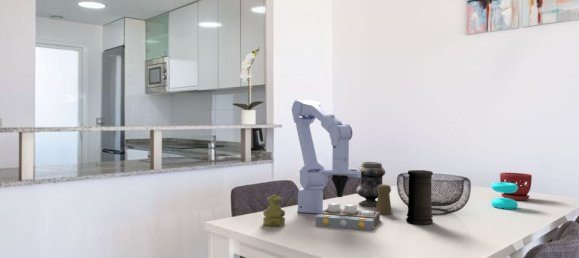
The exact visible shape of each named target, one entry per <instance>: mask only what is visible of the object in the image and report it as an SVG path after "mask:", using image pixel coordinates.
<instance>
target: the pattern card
mask: <svg viewBox="0 0 579 258" xmlns="http://www.w3.org/2000/svg"><path fill="white" fill-rule="evenodd" d="M315 226H318V227H320V226H321V227H329V228H330V227H331V228H342V229H343V228H344V229H351V230H352V229H353V230H362V231H363V230H364V231H365V230H366V231H373V230H374V229H375V226H374V219H372V218H360V217H348V216H336V215H323V214H317V215H315Z"/></svg>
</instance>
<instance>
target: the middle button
mask: <svg viewBox="0 0 579 258" xmlns="http://www.w3.org/2000/svg"><path fill="white" fill-rule="evenodd" d="M343 209H344V213H345V214H357V210H358V205H357V204H352V203H347V204H344V207H343Z"/></svg>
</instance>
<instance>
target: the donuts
mask: <svg viewBox="0 0 579 258" xmlns="http://www.w3.org/2000/svg"><path fill="white" fill-rule="evenodd" d="M505 182H506V181H505ZM505 182H500V181H498V182H492V183H491V185H490V186H491V189H492V190H493V191H494V192H495V193H496V192H497V193H501V194H502V193H513V192H516V191H517V190H518V186H517V185H516V184H517V183H516V184H513V183H505ZM490 204H491V206H492V207H494V208H496V207H497V208H496V209H500V208H504V209H503V210H514V209H516V208H518V206H519V205H518V201H516V200H513V199H509V198H503V197H496V198H493V199H492V200H491V202H490Z"/></svg>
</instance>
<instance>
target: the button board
mask: <svg viewBox="0 0 579 258" xmlns="http://www.w3.org/2000/svg"><path fill="white" fill-rule="evenodd" d="M325 209H326V210H324V211H323V212H321V214H323V215H336V216H348V217H360V218H372V219H374V227H376V226H377V225H378V223H379V222H380V221H381V216H380V212H376V211H373V210H372V211H373V212H374V216H370V215H361V211H362V210H360V209H357V214H345V213H344V208H340V213H332V212H328V207H327V208H325Z"/></svg>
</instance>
